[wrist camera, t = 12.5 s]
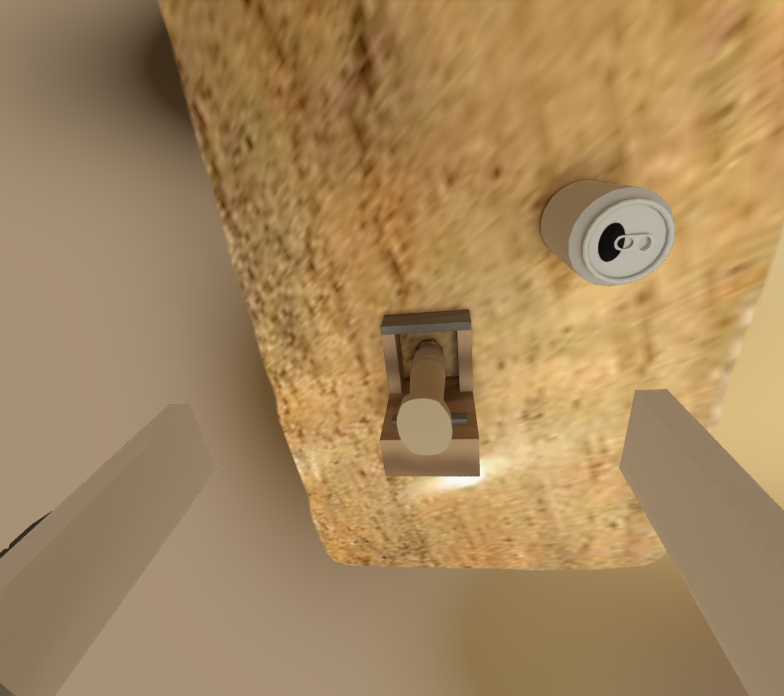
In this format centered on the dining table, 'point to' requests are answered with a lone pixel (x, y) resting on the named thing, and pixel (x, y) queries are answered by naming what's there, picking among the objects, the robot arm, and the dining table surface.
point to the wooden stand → (457, 396)
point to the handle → (426, 404)
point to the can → (608, 231)
